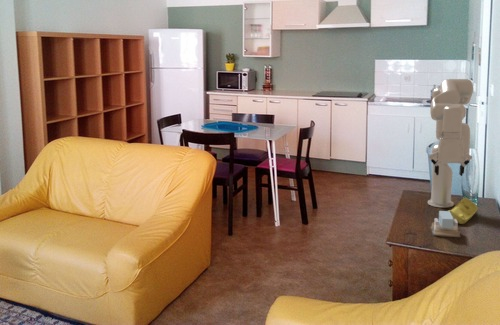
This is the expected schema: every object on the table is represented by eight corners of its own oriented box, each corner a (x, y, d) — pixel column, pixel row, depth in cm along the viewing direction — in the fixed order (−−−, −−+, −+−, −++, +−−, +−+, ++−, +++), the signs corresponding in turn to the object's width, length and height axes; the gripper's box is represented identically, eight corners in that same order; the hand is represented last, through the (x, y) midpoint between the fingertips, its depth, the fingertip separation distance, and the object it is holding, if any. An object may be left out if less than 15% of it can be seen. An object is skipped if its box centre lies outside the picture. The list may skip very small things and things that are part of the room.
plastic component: (465, 221, 234) (446, 208, 238) (457, 232, 238) (439, 220, 242) (480, 207, 248) (462, 195, 252) (473, 218, 251) (455, 206, 256)
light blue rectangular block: (441, 227, 221) (442, 218, 220) (438, 219, 231) (439, 210, 230) (453, 228, 220) (453, 219, 219) (449, 219, 230) (449, 211, 229)
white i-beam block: (433, 228, 230) (434, 217, 228) (455, 229, 227) (456, 219, 226) (435, 232, 225) (435, 221, 224) (457, 233, 223) (457, 222, 222)
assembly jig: (430, 227, 232) (430, 222, 232) (456, 229, 230) (456, 223, 229) (433, 235, 223) (433, 230, 222) (460, 237, 220) (460, 231, 220)
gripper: (431, 136, 215) (428, 176, 219) (475, 137, 211) (472, 177, 215) (428, 133, 222) (426, 172, 226) (471, 134, 218) (468, 173, 222)
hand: (448, 174), depth 220 cm, fingers open, 9 cm apart
